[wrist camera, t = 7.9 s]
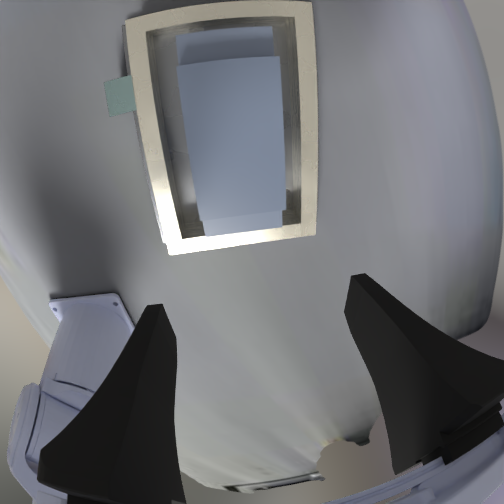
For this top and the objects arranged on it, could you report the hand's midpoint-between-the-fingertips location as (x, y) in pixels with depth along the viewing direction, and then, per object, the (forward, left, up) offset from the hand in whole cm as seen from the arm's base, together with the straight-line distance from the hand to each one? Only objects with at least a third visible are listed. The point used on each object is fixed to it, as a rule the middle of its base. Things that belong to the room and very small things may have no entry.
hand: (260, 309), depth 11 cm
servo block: (+5, 0, -10) cm, 11 cm away
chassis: (+5, 0, -10) cm, 12 cm away
